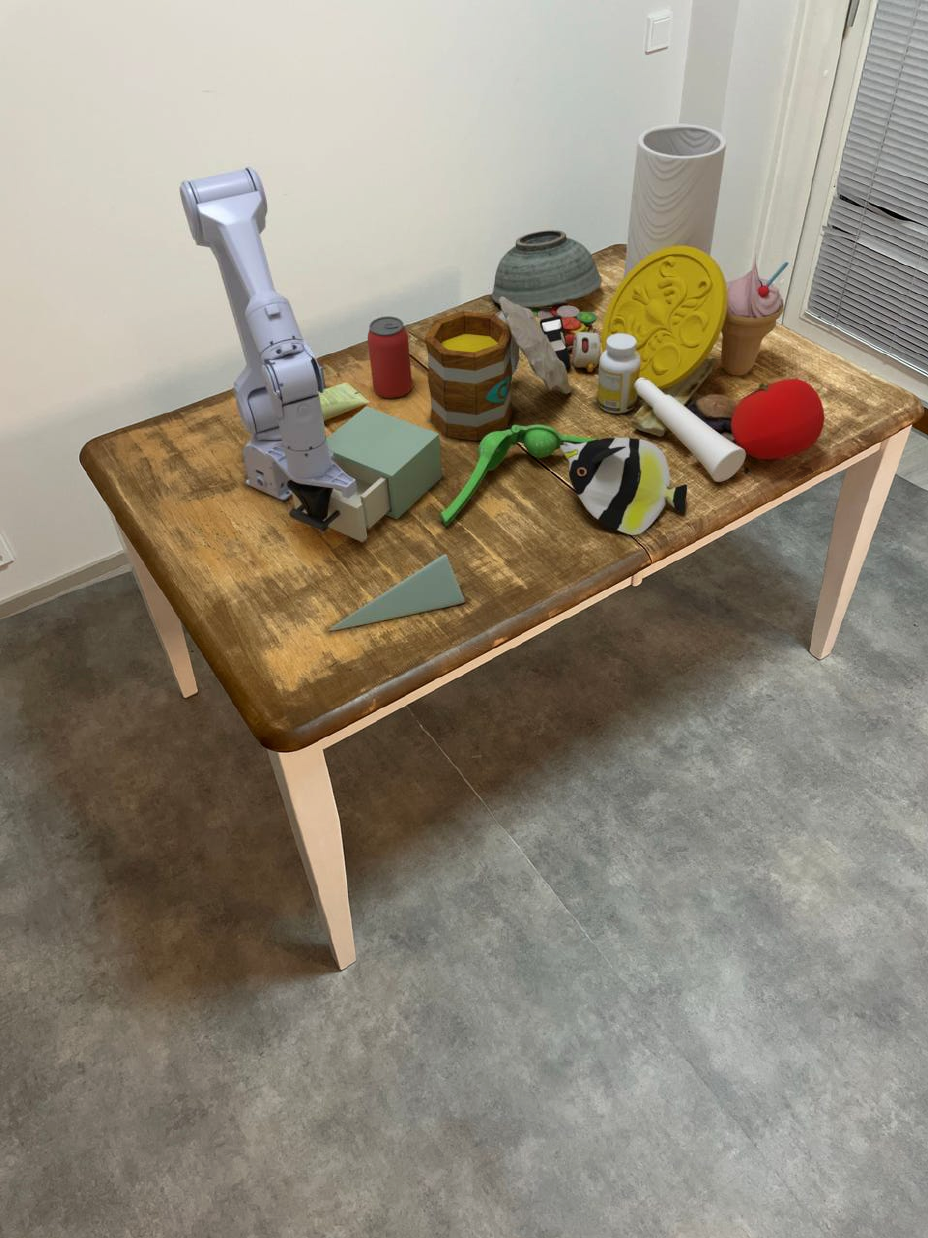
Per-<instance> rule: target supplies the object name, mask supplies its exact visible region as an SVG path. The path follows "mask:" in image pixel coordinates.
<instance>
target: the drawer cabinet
mask: <svg viewBox="0 0 928 1238" xmlns="http://www.w3.org/2000/svg"><path fill="white" fill-rule="evenodd" d="M326 438H327V444H328V450H329V451H330V452H332V453H333V455H334V456H335V457H337V458H340V459H342V460H345V461H347V462H349V463H352V464H354V465H357V466H359V467H361V468H364V469H366V470H369V471H371V472H374V473H376V474H378V475H381V476H383V477H386V478H388V482H389V491H390V499H391V509H390V510H389V511H388V512H387V513H386V514H385V515H384V516H386V517H389V518H392V519H394V520H396V521H397V520H399V518H400V517H401V516H403V515H404V514H405V513H406V512H407V511H408V510H409V509H410V508H411V507H412V506H413V505H414V504H416V502H417V501H419V499H420V498H422V497H423V496H424V495H425V494H426V493H427V492H428V491H429V490H431V488H432V487H434V485H435V484H437V483H438V482H439V481H440V480H441V479H442V478H443V470H442V456H441V439H440V433H438V432H436V431H433V430H430V429H429V428H426V427H422V426H420V425H417V424H414V423H412V422H410V421H406V420H404V419H401V418H399V417H397V416H393V415H391V414H388V413H385V412H383V411H380V410H378V409H375V408H373V407H370V406H365V407H363V408H362V409H361V410H360V411H358V412H357V413H356V414H354V415H353V416H352V417H351V418H350V419H349V420H347V421H346V422H345V423H344V424H343V425H341V426H340V427H338V428H337V429H336V430H335V431H334V432H332V433H331V434H330V435H329V436H327V437H326Z"/></svg>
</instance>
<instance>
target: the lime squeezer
mask: <svg viewBox="0 0 928 1238" xmlns="http://www.w3.org/2000/svg"><path fill="white" fill-rule="evenodd" d="M597 439H598V438H591V437H584V436H577V435H568V434H561V433H560V432H559V431H558V430H557V429H556V428H553V427H551V426H548V425H545V424H530V425H528V426H524V425H519V424H513V425H512V426H511V429H510V428H509V429H506V430H505V431H496V432H492V433H490V434H488V435H486V436H485V437H484V438H483V439H481V440H480V443H479V444H478V450H477V454H478V461H477V463H476V465H475V467H474V469H473V471H472V474H471V475H470V477H469V478H468V480H467V482H466V483H465V485H464V487H463V488H462V489H461V491H460V492H459V493H458V495H457V496H456V498H455V499H454V500H453V501H452V502H451V503H450V505H448V506H447V508H445V509H444V510H442V511H440V513H439V515H440V516H439V517H440V519H441V521H442V523H443V525H444V527H447V526H449V525H450V524H451V522H453V520H454V519H455V518H456V517H457V515H458V514H459V513H460V512H461V510H462V509H463V508H464V507H465V505H466V504H467V503H468V502H469V500H470V499H471V497H472V496H473V494H475V492H476V491H477V489H478V487H479V486H480V484H481V482H482V481H483V479H484V478H485V476H486V474H487V473H488V471H493V470H495V469H497V468H498V466H499V465H500V464H501V462H502V461H503V460H504V459H505V457H506V455H507V453H508V452H509V449H510V448H511V446H516V445H518V443H520V444H522V445H524V448H525V450H526V452H527V453H528V454H530V455H531V456H533V457H535V458H539V459H544V458H547V457H549V456H551V455H552V454H554V452H555V451H557V450H559V449H560V450H561V447H560V446H561V445H563V442H566V443H572V444H581V443H585V442H589V441H592V440H597Z"/></svg>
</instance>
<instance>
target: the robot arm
mask: <svg viewBox="0 0 928 1238" xmlns="http://www.w3.org/2000/svg"><path fill="white" fill-rule="evenodd" d="M179 196H180V199H181V204H182V207H183V211H184V215H185V217H186V220H187V224H188V227H189V231H190V234H191V237H192V240H194V242H195V244H196V246H200V247H205V248H210V251H211V252H212V254H213V256H214V258H215V259H216V262H217V264H218V268H219V271H220V276H221V280H222V283H223V286H224V289H225V293H226V296H227V300H228V304H229V307H230V310H231V314H232V318H233V321H234V326H235V328H236V332H237V335H238V339H239V343H240V345H241V349H242V353H243V356H244V359H245V364H246V365H245V367H244V368H243V370H242V371H241V372H240V373H239V375H238V376H237V377H236V378H235V380H234V382H233V386H232V389H233V392H234V396H235V404H236V408H237V411H238V415H239V418H240V421H241V423H242V426H243V428H244V430H245V431H246V433H247V434H249V435H251V437H250V439H249V440H248V442H247V443H246V444H245V445H243V448H242V451H241V453H242V460H243V462H244V468H245V471H246V475H247V479H246V480H245V484H246V485H247V486H248V487H249V486H250V487H251V488H254V489H256V490H258V491H260V492H262V493H265V494H267V495H269V496H271V497H273V498H276V499H278V500H281V501H286V500H288V499H289V498H290V497H291V496H293V495H292V492H293V493H294V494H295V495H296V496H297V498H298V499H299V500H300V502H301V503H302V505H303V506H304V508H305V510H306V512H307V514H308V515H310V516H313V517H315V518H317V519H320V520H322V521H323V520H324V519H326V518H327V516H328V507H329V501H330V497H331V493H332V491H333V488H334V489H336V490H338V491H340V492H342V495H343V497H345V498H350V497H351V496H352V495H353V494H355V493H356V492H357V485H356V480H355V479H353V478H351V477H350V476H348V475H347V474H346V473H345V472H344V471H343V470H342V469H341V468H340V467H339V466H338V465H337V464H336V463H335V462H333V461H332V459H333V458H334V455H333V453H332V452H330V451H329V450H328V444H327V438H328V437H327V434H326V433H327V432H326V428H325V421H323V415H322V409H321V404H320V398H319V394H318V391H319V392H320V393H323V389H324V388H323V380H322V374H321V370H320V367H321V366H320V365H319V362H318V360H317V357H316V355H315V353H314V351H313V349H312V348H311V347H310V345H309V342H308V341H307V339H304V338H303V335H302V333H301V330H300V327H299V324H298V322H297V319H296V317H295V313H294V311H293V308H292V306H291V303H290V300H289V299H288V298H287V297H285V296H284V295H282V294H281V293H278V292H277V291H276V287H275V285H274V282H273V278H272V274H271V270H270V266H269V263H268V260H267V256H266V253H265V249H264V245H263V241H262V237H261V234H262V233H263V231H264V230H265V229H266V225H267V224H266V223H267V222H266V220H267V219H266V217H267V214H268V201H267V196H266V192H265V189H264V186H263V183H262V180H261V176H260V175H259V172H257V171H256V169H254V168H252V166H246V167H245V168H243V169H239V170H235V171H234V170H233V171H229V172H224V173H219V174H215V175H211V176H206V177H201V178H196V179H191V180H187V179H185V180H182V181H181V183H180V186H179ZM319 366H320V367H319ZM289 478H290V480H289Z"/></svg>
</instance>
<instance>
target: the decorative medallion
mask: <svg viewBox="0 0 928 1238" xmlns="http://www.w3.org/2000/svg"><path fill="white" fill-rule="evenodd" d="M726 283H727V281H726V278H725V275H724V272H723V270H722V269H721V266H720V265H719V264H718V262H717V261H716V260H715V259H714V258H713V257H712V256H711V255H710V256H709V255H707V254H706V253H704V252H703V251H701V250H699V249H696V248H694V247H690V246H672V247H667V248H664V249H661V250H659V251H657V252H654V253H653V254H651V255H649V256H648V257H646V258H645V259H643V260H642V261H641V262H639V263H638V264H637V265H636V266H635V267H634V268H633V269H632V270H631V271H630V272H629V273H628V274H627V275H626V277H625V278H624V277H623V279H622V280H621V281H620V283H619V284H618V286H617V288H616V289H615V291H614V293H613V295H612V297H611V299H610V301H609V303H608V305H607V309H606V310H605V314H604V318H603V324H602V329H601V349H602V353H603V352H604V351H606V341H607V339H608V337H610V336H611V335H614V334H619V333H624V334H629V335H631V336H633V337H634V338H635V339H636V341H637V344H636V352H637V353H638V354H639V356H640V359H641V364H640V374H639V378H642V377H643V378H645V379H646V380H649V381H651V382H652V383H653V384H654V385H655V386H656V387H657V388H659V389H660V390H662V389H666V388H669V387H671V386H673V385H675V384H677V383H679V382H680V381H682V380H683V379H685V378H686V377H688V376H689V375H690V374H691V373H693V372H694V371H695V370H696V369H697V368H698V367H699V366H700V365H701V363H702V362H703V361H704V360H705V359H707V357H708V356H709V354H710V353H711V351H713V349H714V346H715V345H716V344H717V341H718V339H719V337H720V335H721V333H722V331H721V330H722V327H723V324H724V321H725V316H726V311H727V302H728V298H727V286H726Z"/></svg>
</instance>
